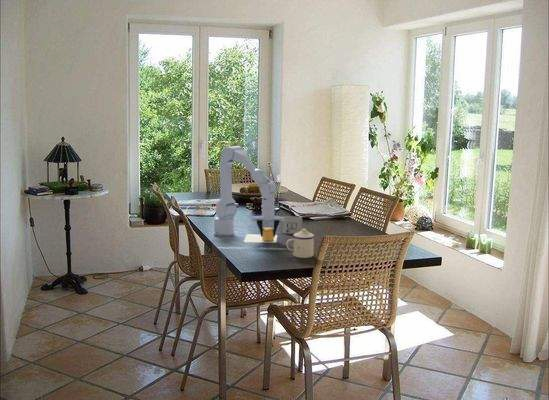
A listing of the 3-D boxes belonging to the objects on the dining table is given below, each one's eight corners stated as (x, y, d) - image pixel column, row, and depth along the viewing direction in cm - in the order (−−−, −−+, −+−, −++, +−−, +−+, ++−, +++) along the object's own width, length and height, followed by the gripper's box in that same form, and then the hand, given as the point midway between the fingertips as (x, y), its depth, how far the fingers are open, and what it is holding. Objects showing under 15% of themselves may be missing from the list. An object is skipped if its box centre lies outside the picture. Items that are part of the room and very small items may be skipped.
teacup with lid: (312, 252, 261) (312, 226, 259) (315, 258, 252) (316, 231, 251) (284, 253, 260) (285, 226, 258) (287, 258, 251) (287, 231, 249)
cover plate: (243, 244, 275) (243, 235, 275) (246, 236, 291) (246, 228, 290) (276, 244, 275) (276, 236, 274) (277, 236, 290) (277, 228, 290)
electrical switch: (282, 235, 294) (282, 216, 294) (284, 234, 299) (284, 215, 299) (301, 236, 292) (301, 217, 292) (302, 235, 297) (303, 216, 297)
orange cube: (262, 240, 276) (262, 229, 275) (262, 237, 281) (262, 227, 280) (273, 240, 276) (273, 230, 275) (273, 238, 281) (274, 227, 280)
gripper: (251, 208, 272) (251, 237, 275) (283, 209, 272) (283, 238, 274) (253, 206, 279) (252, 234, 281) (284, 206, 279) (283, 235, 281)
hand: (267, 236), depth 278 cm, fingers closed on orange cube, 5 cm apart
